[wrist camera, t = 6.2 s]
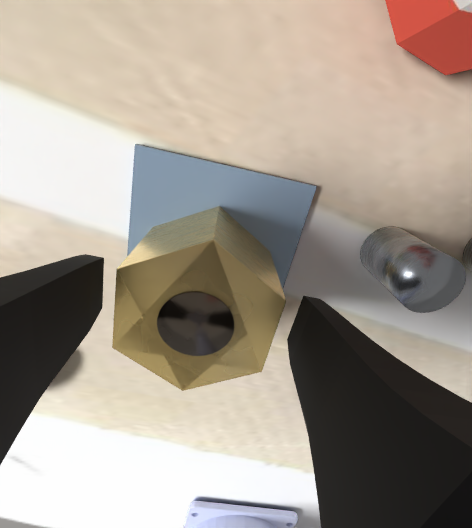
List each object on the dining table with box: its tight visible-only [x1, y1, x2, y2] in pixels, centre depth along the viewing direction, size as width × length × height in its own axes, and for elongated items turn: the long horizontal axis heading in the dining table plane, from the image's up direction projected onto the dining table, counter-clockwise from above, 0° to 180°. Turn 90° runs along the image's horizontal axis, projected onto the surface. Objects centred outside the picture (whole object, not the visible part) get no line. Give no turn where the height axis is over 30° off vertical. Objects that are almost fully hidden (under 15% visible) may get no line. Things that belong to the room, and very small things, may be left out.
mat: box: [127, 144, 317, 290], centre depth 13 cm, size 9×7×1 cm
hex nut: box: [112, 206, 286, 391], centre depth 11 cm, size 6×5×4 cm
